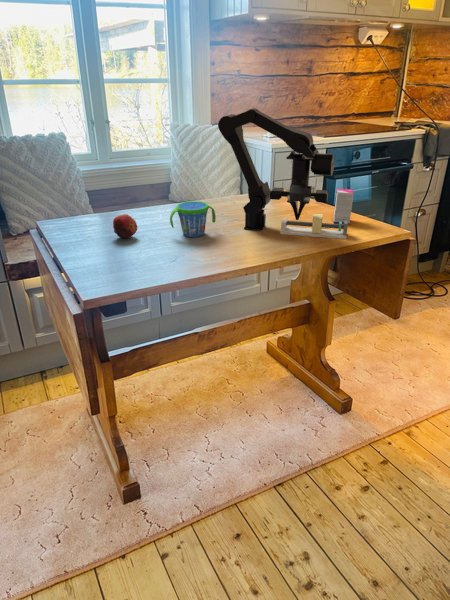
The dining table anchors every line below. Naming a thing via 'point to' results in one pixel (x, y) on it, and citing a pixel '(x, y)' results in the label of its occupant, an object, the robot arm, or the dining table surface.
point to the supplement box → (343, 206)
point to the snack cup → (192, 217)
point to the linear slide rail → (308, 231)
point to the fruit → (124, 226)
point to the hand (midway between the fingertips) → (297, 219)
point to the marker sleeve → (317, 223)
